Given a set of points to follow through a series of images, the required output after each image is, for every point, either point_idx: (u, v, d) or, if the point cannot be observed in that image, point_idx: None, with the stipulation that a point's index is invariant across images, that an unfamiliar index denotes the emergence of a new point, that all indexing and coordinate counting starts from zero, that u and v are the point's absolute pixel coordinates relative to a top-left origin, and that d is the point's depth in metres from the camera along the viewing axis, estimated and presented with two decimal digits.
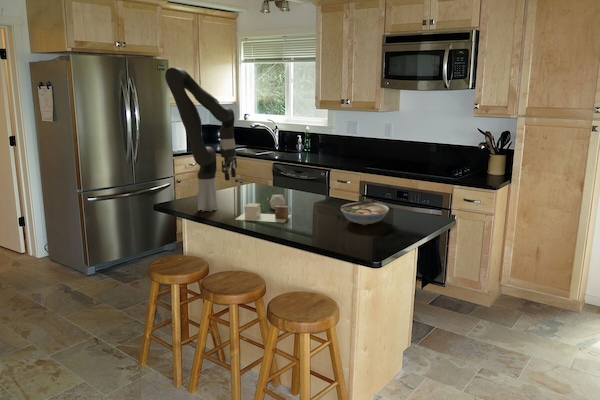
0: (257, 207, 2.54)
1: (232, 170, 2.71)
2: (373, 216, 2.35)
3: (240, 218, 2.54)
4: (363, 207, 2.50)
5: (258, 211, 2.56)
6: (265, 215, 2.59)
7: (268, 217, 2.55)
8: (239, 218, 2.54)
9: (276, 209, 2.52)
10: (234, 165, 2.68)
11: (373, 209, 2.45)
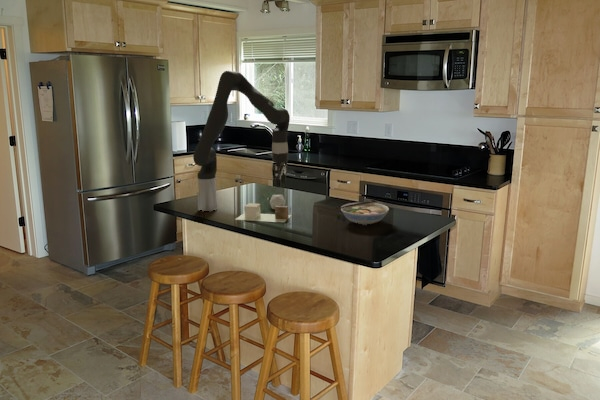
0: (257, 207, 2.54)
1: (282, 176, 2.52)
2: (373, 216, 2.35)
3: (240, 218, 2.54)
4: (363, 207, 2.50)
5: (258, 211, 2.56)
6: (265, 215, 2.59)
7: (268, 217, 2.55)
8: (239, 218, 2.54)
9: (276, 209, 2.52)
10: (285, 170, 2.50)
11: (373, 209, 2.45)
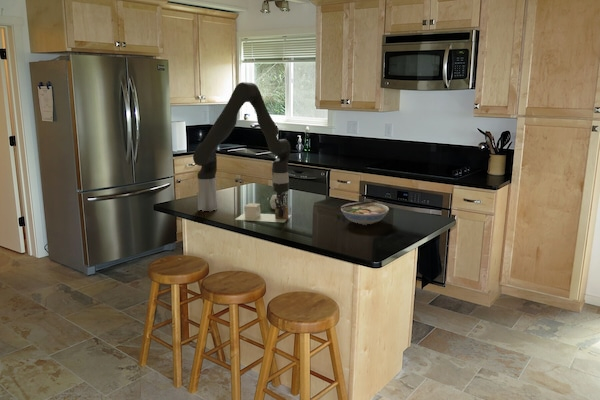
0: (257, 207, 2.54)
1: None
2: (373, 216, 2.35)
3: (240, 218, 2.54)
4: (363, 207, 2.50)
5: (258, 211, 2.56)
6: (265, 215, 2.59)
7: (268, 217, 2.55)
8: (239, 218, 2.54)
9: (276, 209, 2.52)
10: (285, 201, 2.52)
11: (373, 209, 2.45)
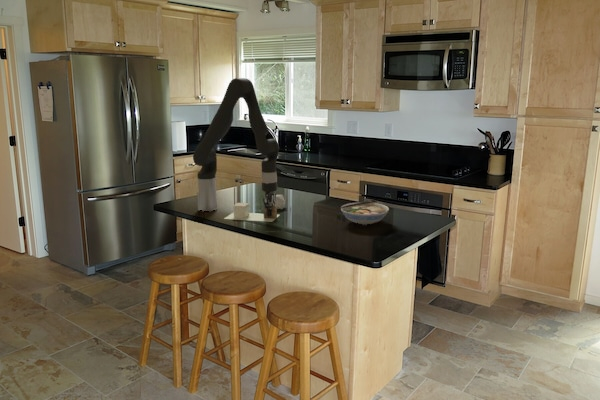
0: (246, 206, 2.56)
1: None
2: (373, 216, 2.35)
3: (229, 217, 2.56)
4: (363, 207, 2.50)
5: (247, 210, 2.57)
6: (254, 214, 2.60)
7: (257, 216, 2.57)
8: (228, 217, 2.56)
9: (265, 209, 2.53)
10: (273, 200, 2.53)
11: (373, 209, 2.45)
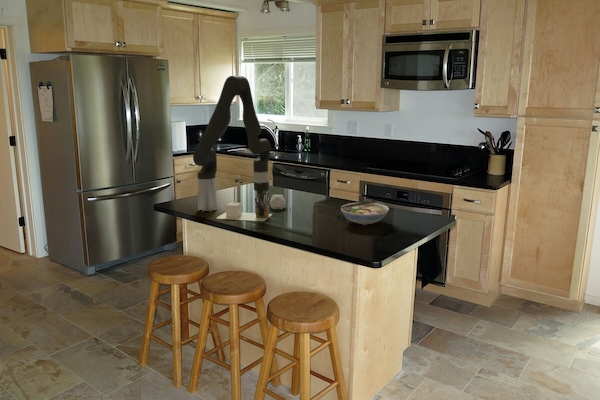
0: (238, 206, 2.57)
1: None
2: (373, 216, 2.35)
3: (221, 217, 2.57)
4: (363, 207, 2.50)
5: (239, 210, 2.58)
6: (246, 214, 2.62)
7: (249, 216, 2.58)
8: (220, 217, 2.57)
9: (257, 208, 2.54)
10: (265, 200, 2.54)
11: (373, 209, 2.45)
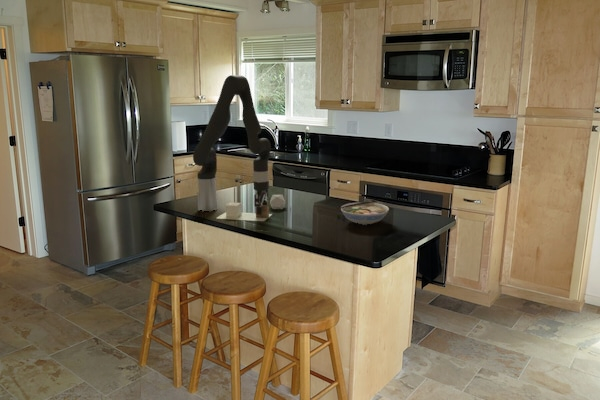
0: (238, 206, 2.57)
1: (264, 203, 2.58)
2: (373, 216, 2.35)
3: (221, 217, 2.57)
4: (363, 207, 2.50)
5: (239, 210, 2.58)
6: (246, 214, 2.62)
7: (249, 216, 2.58)
8: (220, 217, 2.57)
9: None
10: (266, 198, 2.56)
11: (373, 209, 2.45)
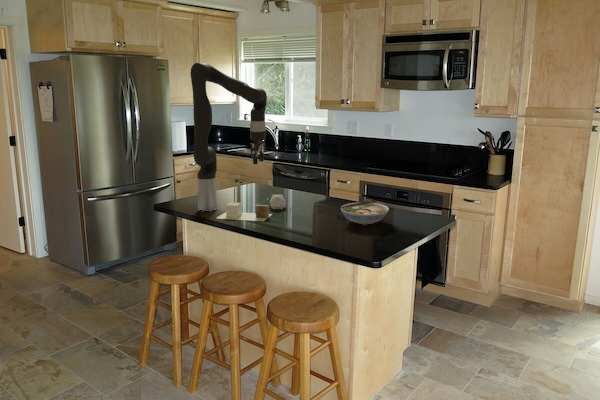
0: (238, 206, 2.57)
1: (260, 154, 2.62)
2: (373, 216, 2.35)
3: (221, 217, 2.57)
4: (363, 207, 2.50)
5: (239, 210, 2.58)
6: (246, 214, 2.62)
7: (249, 216, 2.58)
8: (220, 217, 2.57)
9: (257, 208, 2.54)
10: (263, 149, 2.59)
11: (373, 209, 2.45)
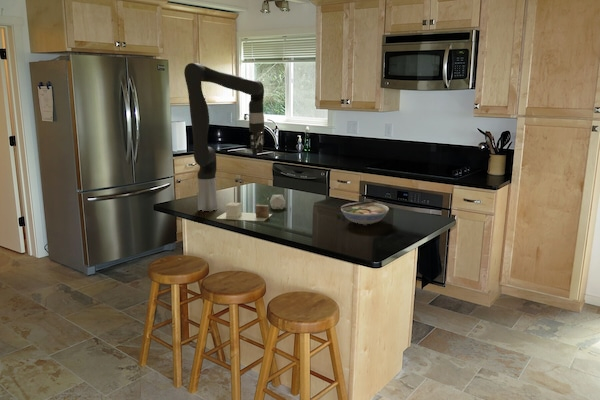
0: (238, 206, 2.57)
1: (259, 145, 2.65)
2: (373, 216, 2.35)
3: (221, 217, 2.57)
4: (363, 207, 2.50)
5: (239, 210, 2.58)
6: (246, 214, 2.62)
7: (249, 216, 2.58)
8: (220, 217, 2.57)
9: (257, 208, 2.54)
10: (262, 140, 2.63)
11: (373, 209, 2.45)
